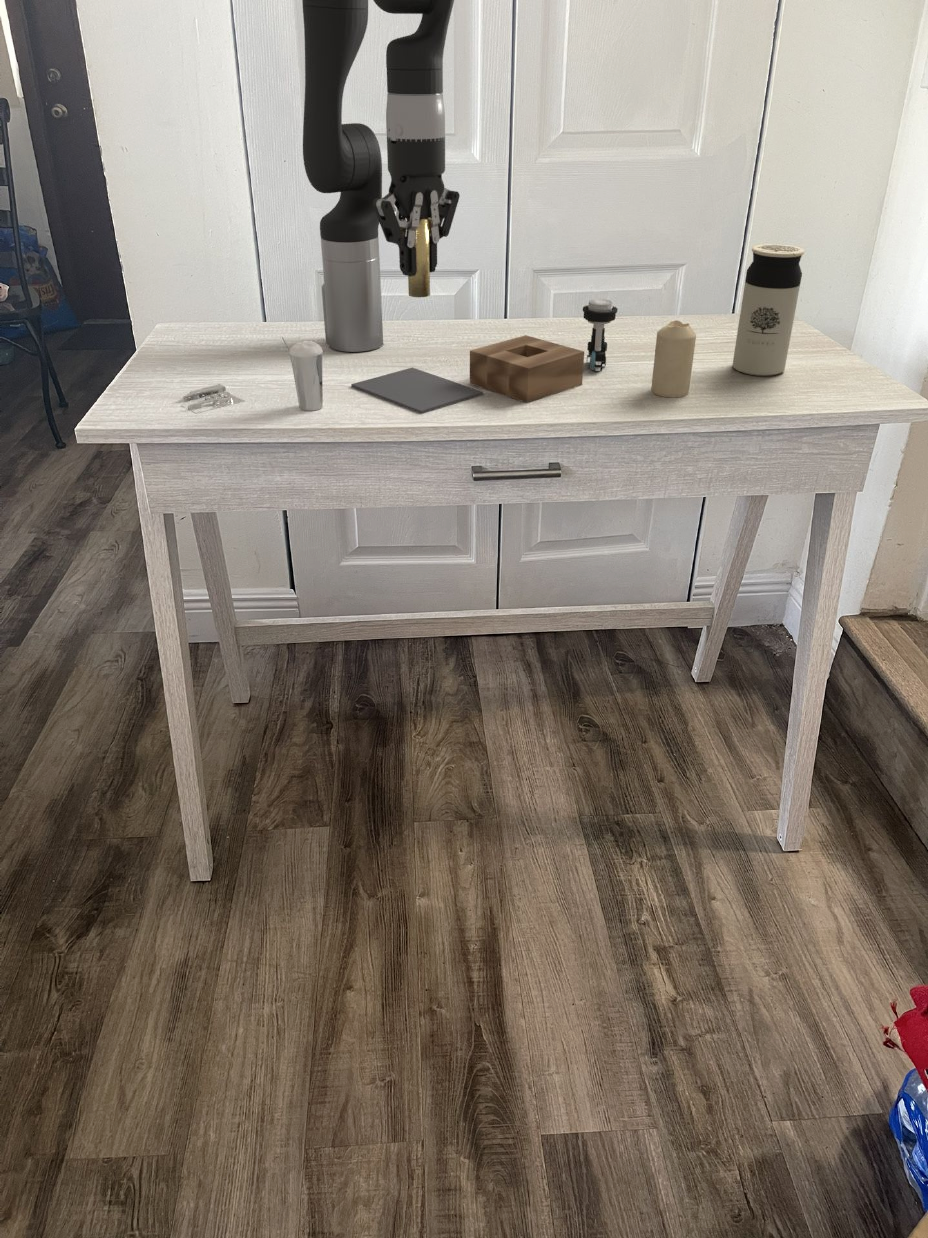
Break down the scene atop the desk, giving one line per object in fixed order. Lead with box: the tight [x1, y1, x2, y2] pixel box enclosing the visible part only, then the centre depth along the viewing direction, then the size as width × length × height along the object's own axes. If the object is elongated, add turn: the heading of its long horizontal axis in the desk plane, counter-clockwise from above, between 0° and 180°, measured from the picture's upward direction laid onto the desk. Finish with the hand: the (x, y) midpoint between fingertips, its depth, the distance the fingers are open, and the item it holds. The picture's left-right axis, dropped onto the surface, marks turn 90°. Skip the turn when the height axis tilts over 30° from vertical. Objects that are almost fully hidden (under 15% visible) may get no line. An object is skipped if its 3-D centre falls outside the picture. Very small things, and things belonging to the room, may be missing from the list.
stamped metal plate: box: [180, 383, 245, 415], centre depth 136 cm, size 8×7×2 cm
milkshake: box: [281, 336, 324, 412], centre depth 131 cm, size 4×5×10 cm
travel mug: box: [732, 243, 805, 377], centre depth 144 cm, size 8×8×18 cm
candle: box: [650, 319, 697, 398], centre depth 137 cm, size 6×6×10 cm
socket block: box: [469, 335, 585, 404], centre depth 141 cm, size 12×12×5 cm
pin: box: [406, 217, 431, 298], centre depth 129 cm, size 3×3×10 cm
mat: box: [351, 367, 484, 415], centre depth 140 cm, size 16×12×1 cm
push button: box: [582, 298, 618, 372], centre depth 147 cm, size 7×5×10 cm
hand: (418, 272), depth 130 cm, fingers closed on pin, 3 cm apart
